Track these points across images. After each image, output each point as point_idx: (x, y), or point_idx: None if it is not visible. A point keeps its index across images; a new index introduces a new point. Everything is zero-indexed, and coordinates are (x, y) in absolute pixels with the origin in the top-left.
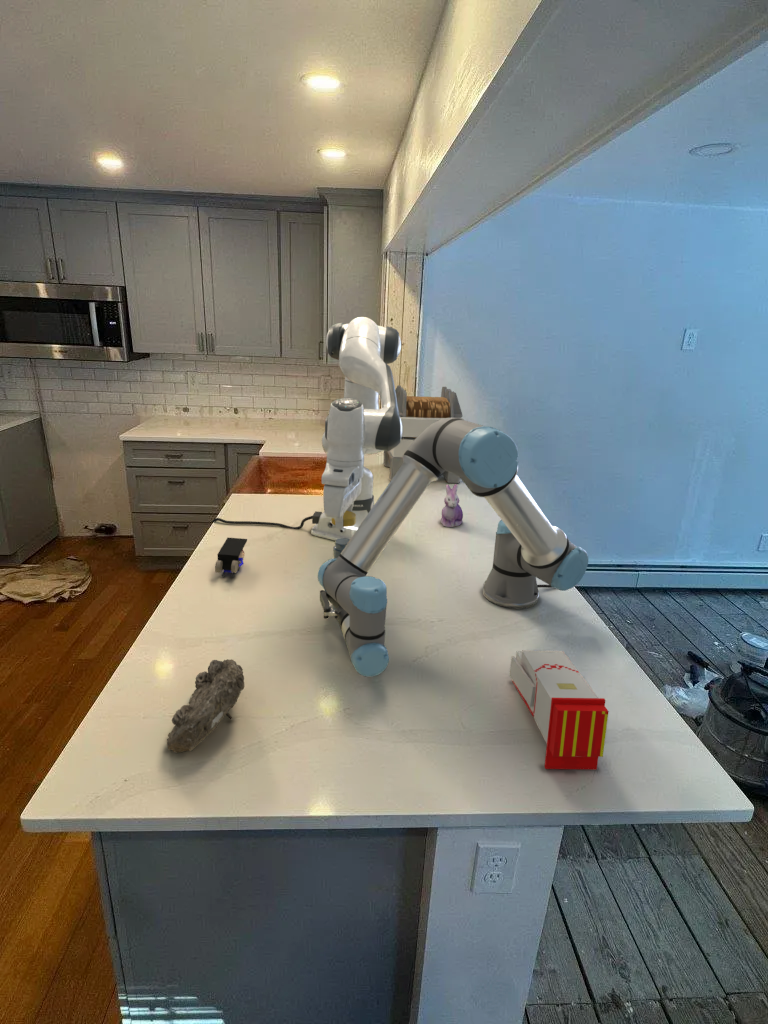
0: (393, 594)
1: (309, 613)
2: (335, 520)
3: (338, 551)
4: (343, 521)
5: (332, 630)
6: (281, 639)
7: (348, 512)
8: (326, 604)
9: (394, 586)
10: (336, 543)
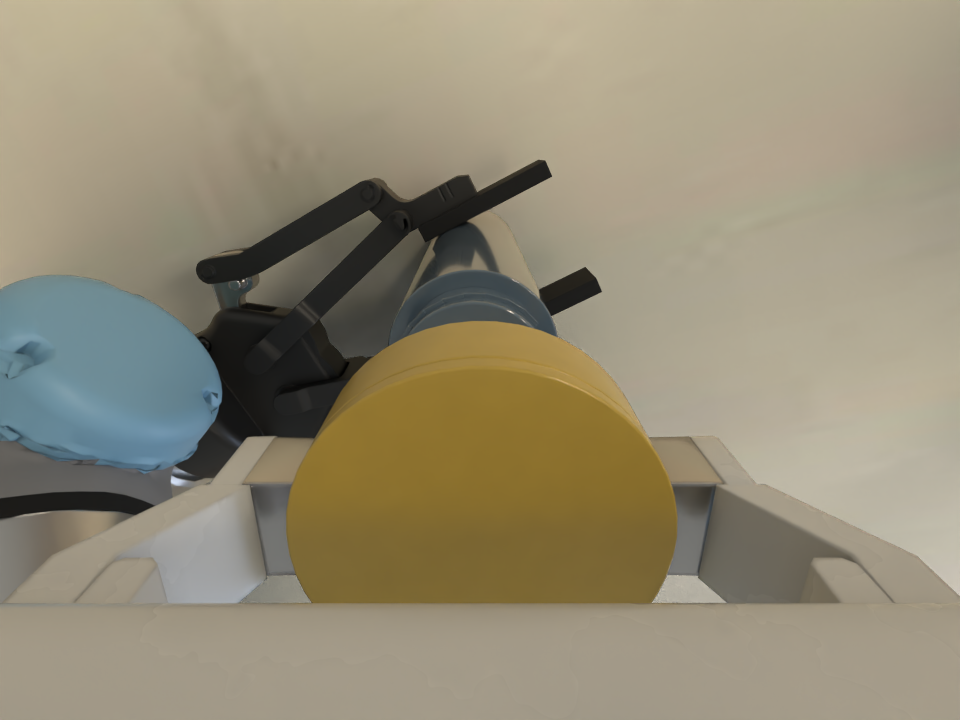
0: (660, 410)
1: (411, 113)
2: (178, 504)
3: (391, 335)
4: (282, 570)
5: (318, 256)
6: (166, 67)
7: (599, 580)
8: (245, 261)
9: (731, 401)
10: (413, 326)
